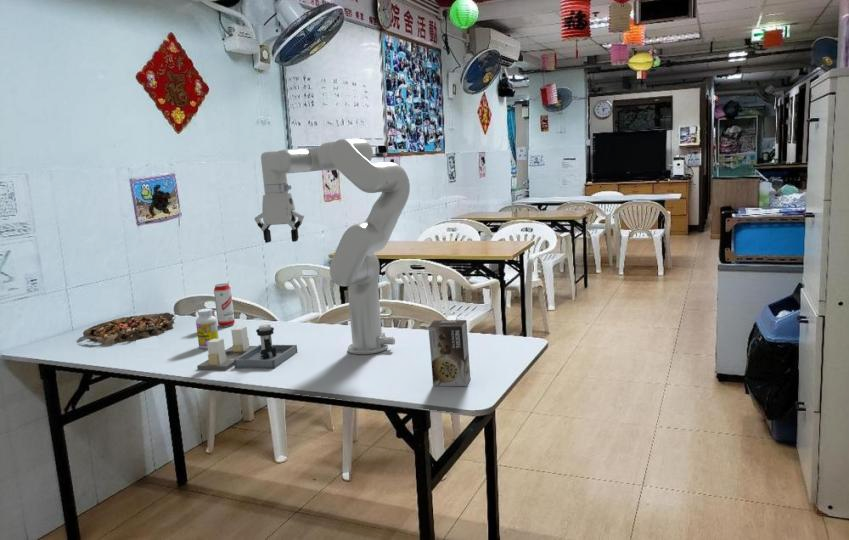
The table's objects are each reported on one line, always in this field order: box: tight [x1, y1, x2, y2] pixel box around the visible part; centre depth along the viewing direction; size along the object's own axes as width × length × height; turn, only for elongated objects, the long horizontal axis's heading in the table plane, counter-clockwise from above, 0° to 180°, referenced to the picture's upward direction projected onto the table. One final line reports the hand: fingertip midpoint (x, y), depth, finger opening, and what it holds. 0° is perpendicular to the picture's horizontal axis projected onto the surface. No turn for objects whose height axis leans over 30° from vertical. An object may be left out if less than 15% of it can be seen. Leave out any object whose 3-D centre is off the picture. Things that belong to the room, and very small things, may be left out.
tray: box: [234, 344, 298, 370], centre depth 202 cm, size 13×16×2 cm
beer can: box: [213, 283, 236, 328], centre depth 251 cm, size 6×6×16 cm
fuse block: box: [196, 326, 258, 371], centre depth 205 cm, size 10×21×8 cm, turn 166°
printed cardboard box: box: [427, 319, 471, 387], centre depth 169 cm, size 9×6×16 cm
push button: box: [255, 324, 276, 359], centre depth 202 cm, size 7×5×10 cm
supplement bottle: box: [195, 307, 220, 350], centre depth 222 cm, size 7×7×13 cm
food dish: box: [82, 312, 176, 346], centre depth 252 cm, size 35×33×8 cm
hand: (281, 241), depth 216 cm, fingers open, 9 cm apart
